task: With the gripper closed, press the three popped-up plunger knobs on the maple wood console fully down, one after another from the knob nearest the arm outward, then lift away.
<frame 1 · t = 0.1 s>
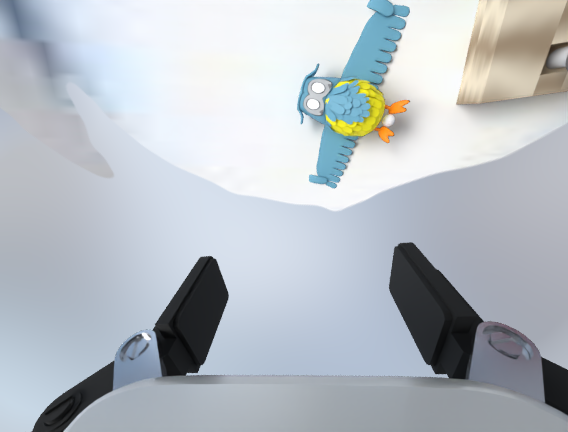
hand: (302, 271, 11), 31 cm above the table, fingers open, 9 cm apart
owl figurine: (341, 107, 35), on the table
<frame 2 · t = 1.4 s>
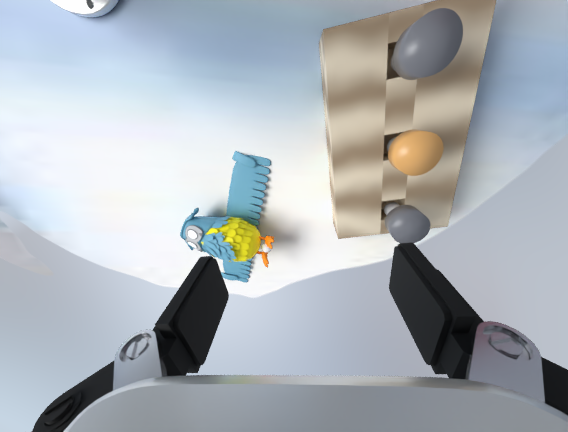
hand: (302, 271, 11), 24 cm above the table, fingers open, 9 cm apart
console: (382, 140, 30), on the table
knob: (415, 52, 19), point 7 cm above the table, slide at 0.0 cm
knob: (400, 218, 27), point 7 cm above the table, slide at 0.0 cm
knob mid: (406, 149, 23), point 7 cm above the table, slide at 0.0 cm
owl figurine: (236, 224, 39), on the table
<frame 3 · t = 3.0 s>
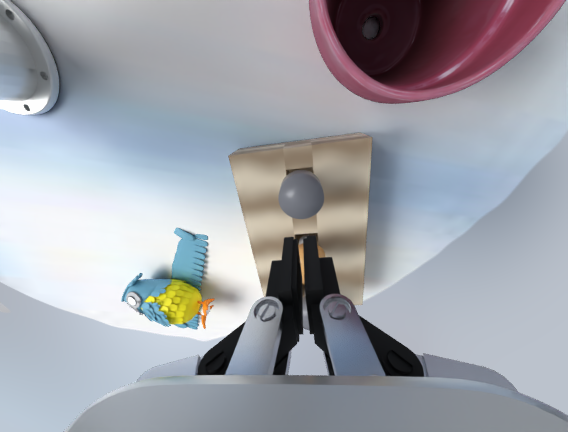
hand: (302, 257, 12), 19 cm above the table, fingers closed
console: (305, 225, 33), on the table
plant pot: (372, 30, 22), on the table
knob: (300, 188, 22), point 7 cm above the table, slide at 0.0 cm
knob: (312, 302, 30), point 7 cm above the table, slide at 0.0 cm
knob mid: (307, 254, 26), point 7 cm above the table, slide at 0.0 cm
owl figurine: (183, 281, 42), on the table
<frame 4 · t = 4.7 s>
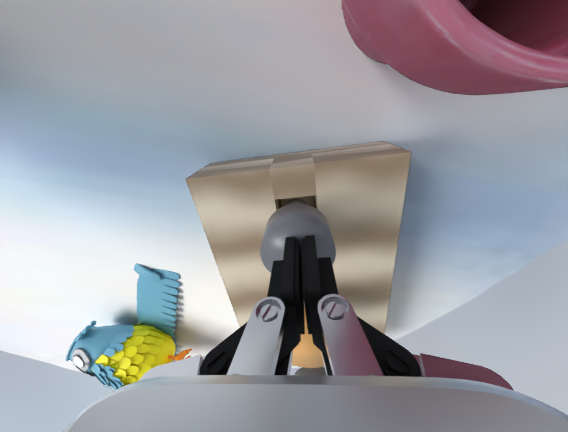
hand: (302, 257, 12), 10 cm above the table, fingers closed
console: (304, 261, 25), on the table
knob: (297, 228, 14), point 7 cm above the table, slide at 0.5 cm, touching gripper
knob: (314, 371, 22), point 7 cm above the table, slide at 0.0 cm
knob mid: (307, 318, 18), point 7 cm above the table, slide at 0.0 cm
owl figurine: (154, 324, 34), on the table
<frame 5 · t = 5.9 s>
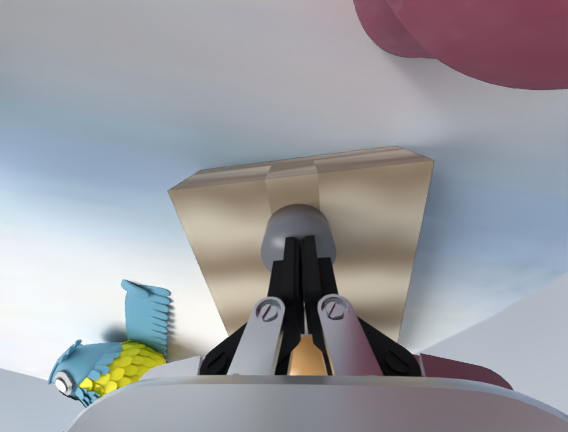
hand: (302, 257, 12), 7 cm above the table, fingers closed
console: (306, 277, 23), on the table
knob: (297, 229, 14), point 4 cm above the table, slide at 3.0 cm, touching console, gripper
knob mid: (309, 347, 16), point 7 cm above the table, slide at 0.0 cm
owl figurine: (145, 340, 32), on the table
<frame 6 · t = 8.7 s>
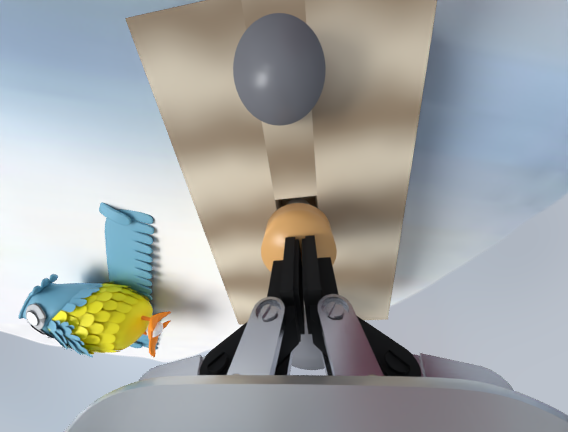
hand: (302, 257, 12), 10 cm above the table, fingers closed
console: (297, 193, 20), on the table
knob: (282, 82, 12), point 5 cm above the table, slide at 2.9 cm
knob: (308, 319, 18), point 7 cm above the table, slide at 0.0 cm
knob mid: (298, 228, 14), point 7 cm above the table, slide at 0.7 cm, touching gripper
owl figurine: (129, 286, 29), on the table
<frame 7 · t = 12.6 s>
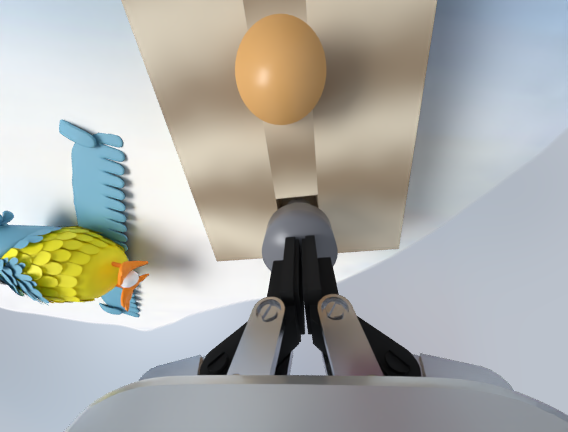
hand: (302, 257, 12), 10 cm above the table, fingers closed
console: (287, 88, 16), on the table
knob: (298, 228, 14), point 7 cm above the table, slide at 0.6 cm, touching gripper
knob mid: (283, 82, 12), point 5 cm above the table, slide at 2.9 cm
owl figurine: (103, 237, 26), on the table
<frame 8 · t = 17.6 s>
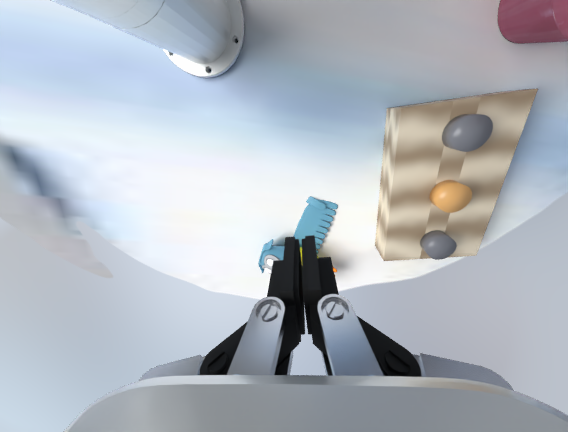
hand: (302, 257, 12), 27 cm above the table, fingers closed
console: (426, 183, 36), on the table
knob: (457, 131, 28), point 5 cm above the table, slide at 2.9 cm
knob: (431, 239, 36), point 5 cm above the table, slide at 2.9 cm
knob mid: (442, 192, 32), point 5 cm above the table, slide at 2.9 cm
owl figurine: (296, 251, 46), on the table
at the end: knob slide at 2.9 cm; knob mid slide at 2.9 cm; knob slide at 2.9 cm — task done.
